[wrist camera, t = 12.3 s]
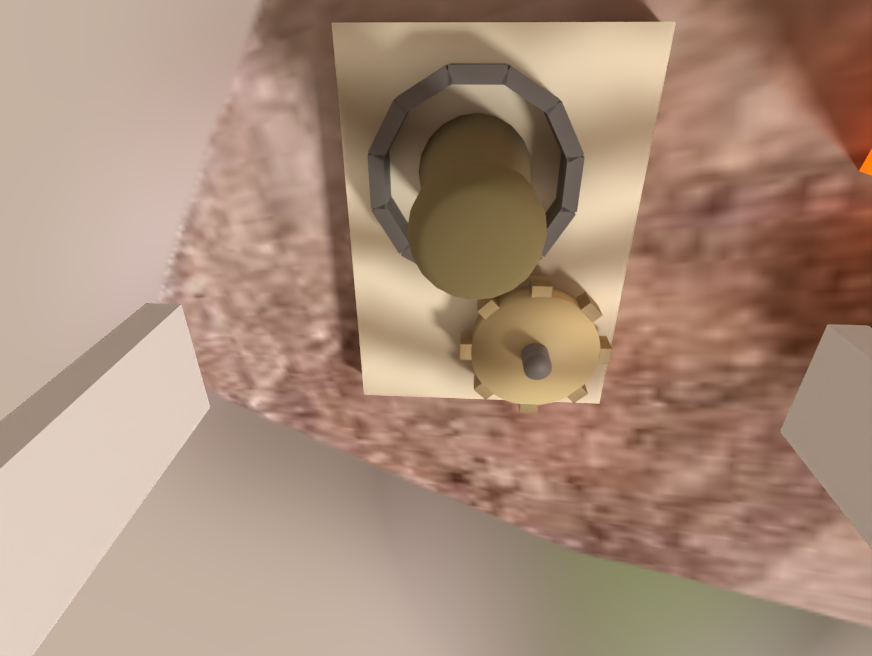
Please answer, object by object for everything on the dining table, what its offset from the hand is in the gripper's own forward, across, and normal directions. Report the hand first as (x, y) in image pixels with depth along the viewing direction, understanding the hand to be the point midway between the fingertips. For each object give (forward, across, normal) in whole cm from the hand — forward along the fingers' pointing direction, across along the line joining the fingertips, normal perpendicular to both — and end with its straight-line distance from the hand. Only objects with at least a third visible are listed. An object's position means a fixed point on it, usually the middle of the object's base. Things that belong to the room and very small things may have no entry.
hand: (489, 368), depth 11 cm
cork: (+19, 0, 0) cm, 19 cm away
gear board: (+21, +1, -4) cm, 21 cm away
